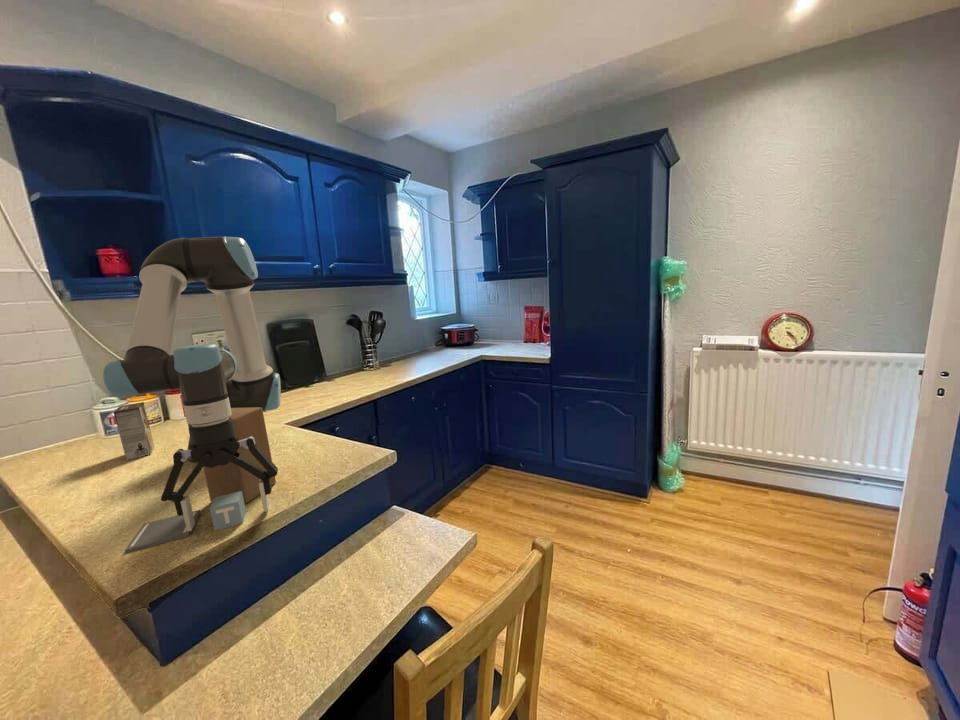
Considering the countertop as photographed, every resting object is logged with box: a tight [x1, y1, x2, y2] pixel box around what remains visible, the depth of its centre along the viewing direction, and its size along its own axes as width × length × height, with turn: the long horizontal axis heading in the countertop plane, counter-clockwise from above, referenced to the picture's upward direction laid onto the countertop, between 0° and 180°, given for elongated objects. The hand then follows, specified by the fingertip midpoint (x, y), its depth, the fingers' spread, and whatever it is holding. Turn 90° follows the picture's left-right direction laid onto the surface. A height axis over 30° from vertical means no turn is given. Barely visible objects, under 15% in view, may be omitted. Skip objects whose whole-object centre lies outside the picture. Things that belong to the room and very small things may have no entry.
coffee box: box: [113, 401, 155, 461], centre depth 127 cm, size 9×6×16 cm
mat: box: [124, 509, 202, 554], centre depth 81 cm, size 10×10×1 cm
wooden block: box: [202, 407, 277, 504], centre depth 93 cm, size 10×10×20 cm
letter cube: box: [209, 491, 247, 531], centre depth 82 cm, size 5×5×5 cm
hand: (230, 518), depth 82 cm, fingers open, 13 cm apart
